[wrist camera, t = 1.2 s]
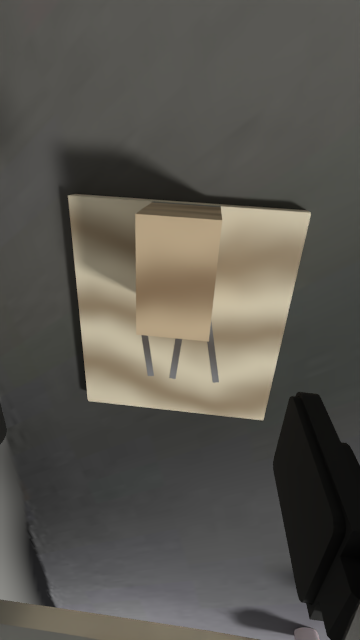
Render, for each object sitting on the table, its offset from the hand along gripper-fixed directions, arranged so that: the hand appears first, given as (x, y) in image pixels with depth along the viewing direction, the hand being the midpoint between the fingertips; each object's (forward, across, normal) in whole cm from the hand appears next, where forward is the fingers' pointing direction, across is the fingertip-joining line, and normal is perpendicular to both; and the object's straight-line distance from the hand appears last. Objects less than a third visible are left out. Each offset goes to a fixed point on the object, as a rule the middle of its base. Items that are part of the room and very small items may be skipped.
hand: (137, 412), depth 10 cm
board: (+19, 0, +6) cm, 19 cm away
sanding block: (+17, 0, 0) cm, 17 cm away
